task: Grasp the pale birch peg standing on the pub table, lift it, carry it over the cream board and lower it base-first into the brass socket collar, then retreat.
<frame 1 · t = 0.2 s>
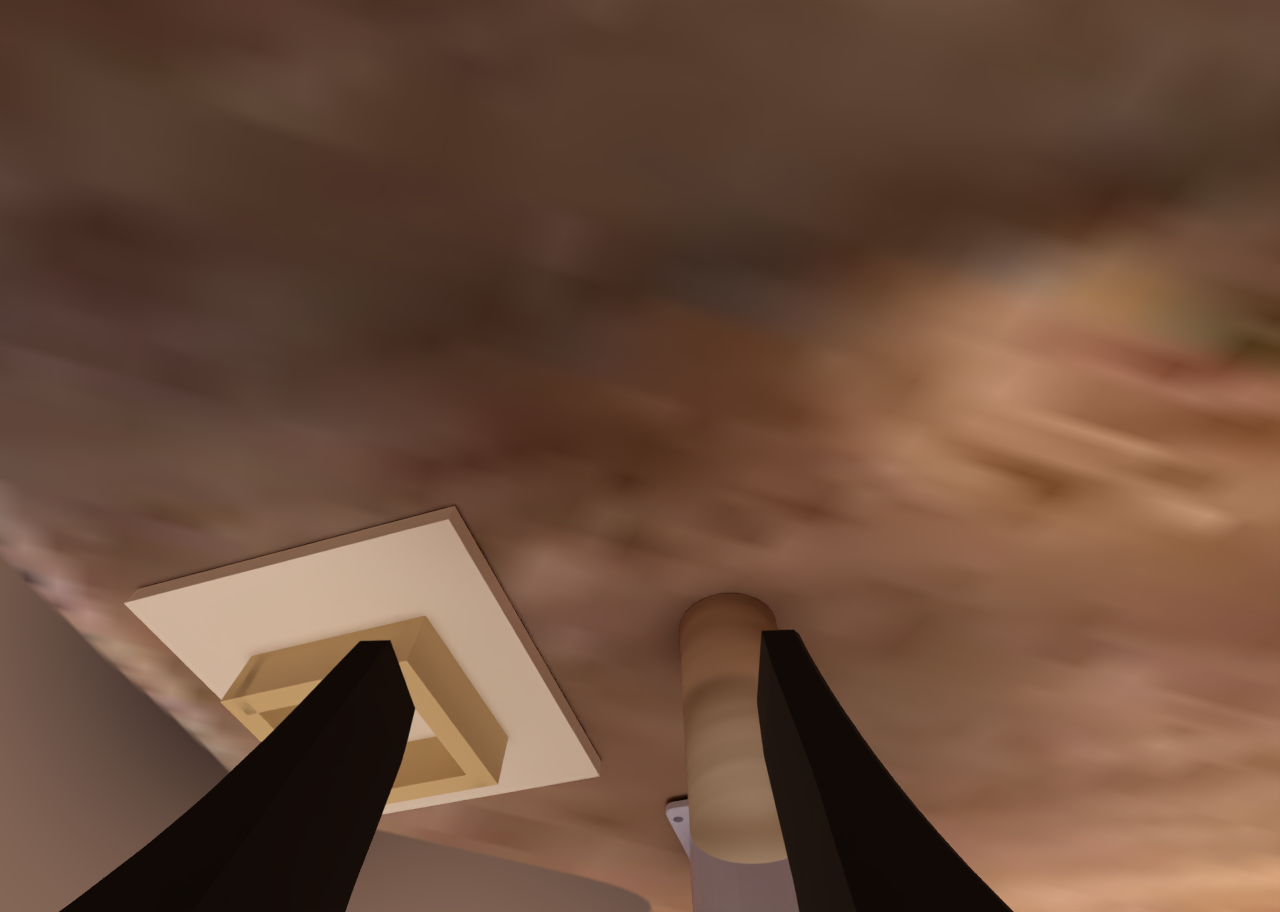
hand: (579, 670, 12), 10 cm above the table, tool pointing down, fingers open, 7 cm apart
socket plate: (392, 683, 27), on the table
birch peg: (727, 629, 26), on the table
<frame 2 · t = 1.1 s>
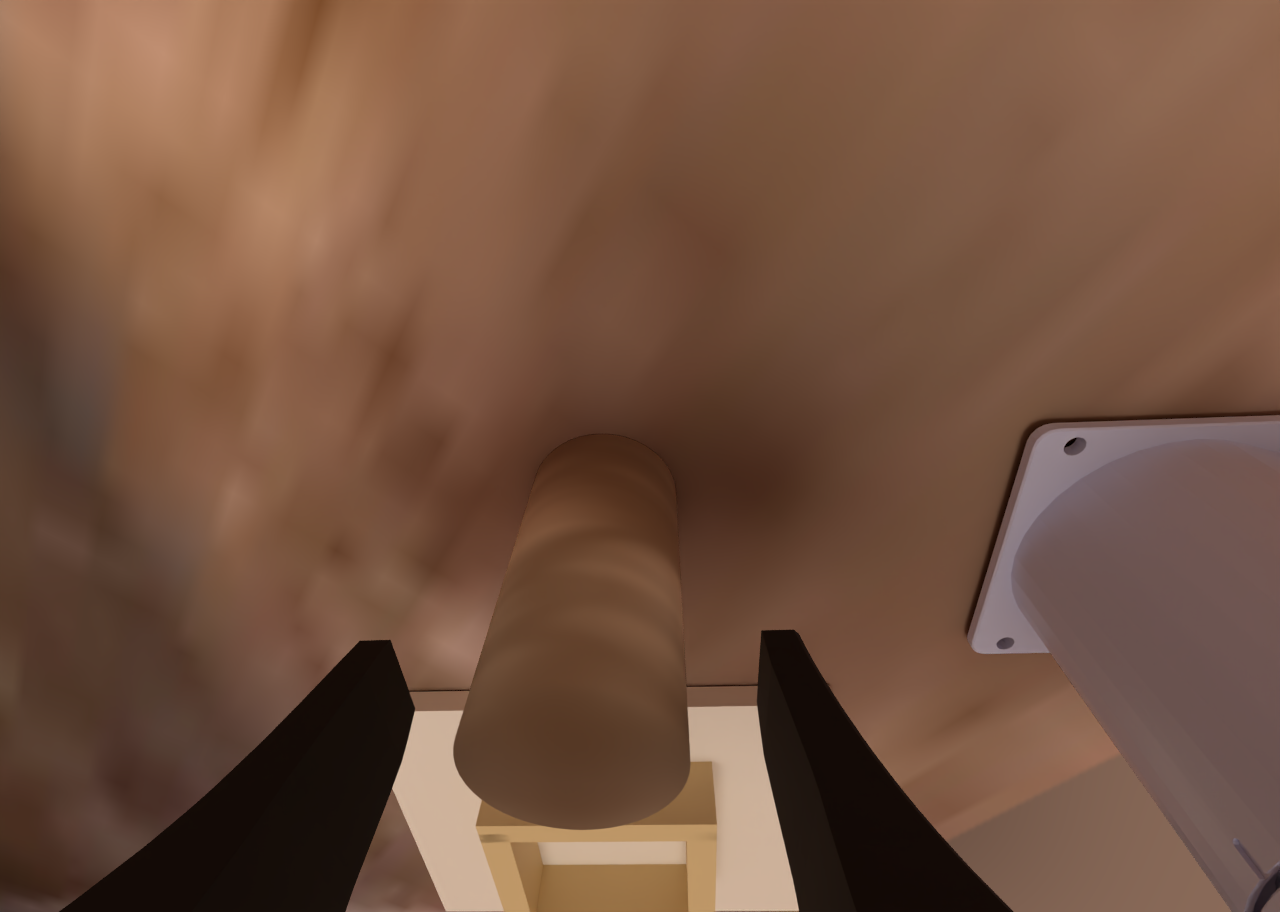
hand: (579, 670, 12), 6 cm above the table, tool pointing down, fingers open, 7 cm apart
socket plate: (610, 804, 25), on the table
birch peg: (604, 496, 17), on the table
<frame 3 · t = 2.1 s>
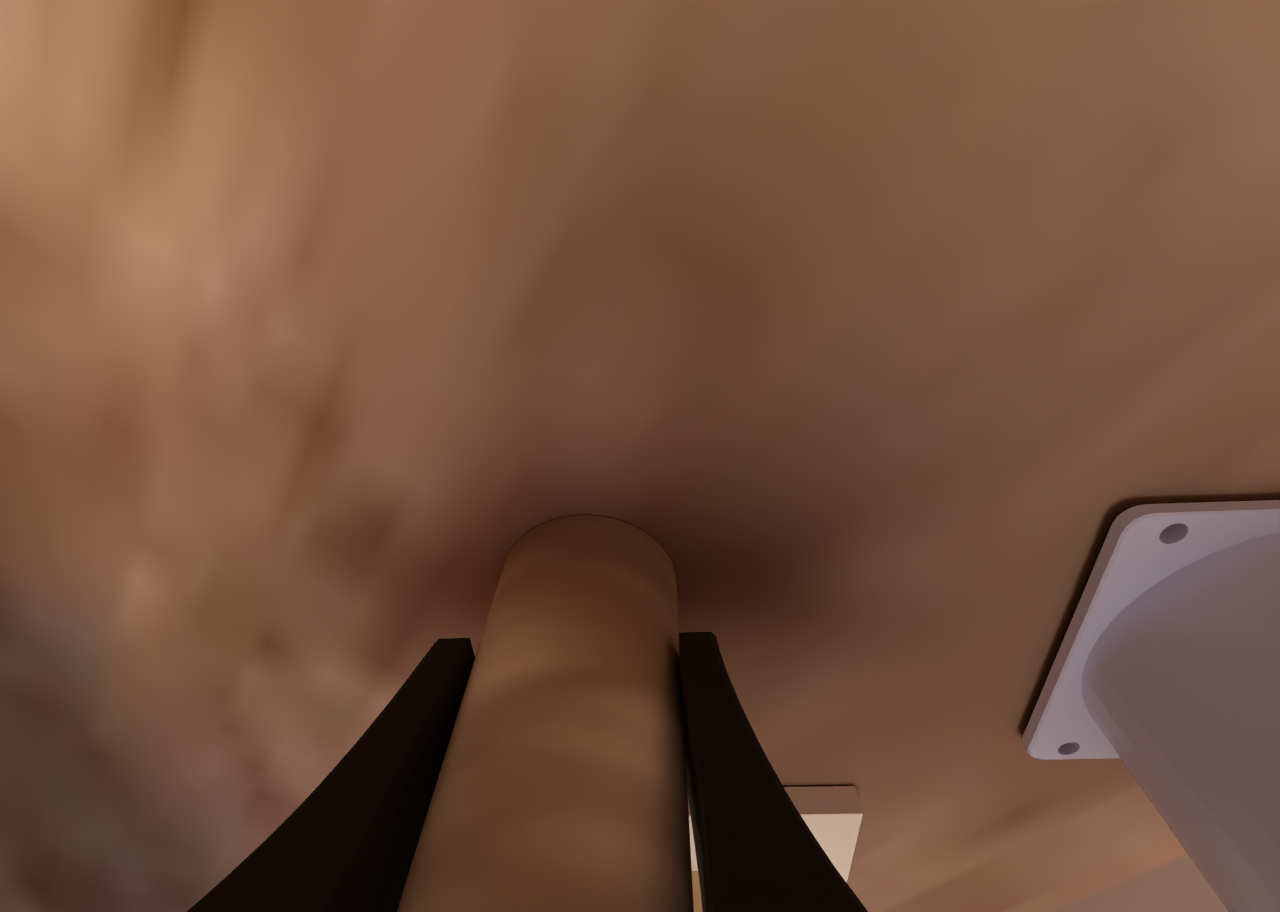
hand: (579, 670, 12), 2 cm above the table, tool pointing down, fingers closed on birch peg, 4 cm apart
socket plate: (601, 905, 22), on the table
birch peg: (589, 585, 14), on the table, touching gripper
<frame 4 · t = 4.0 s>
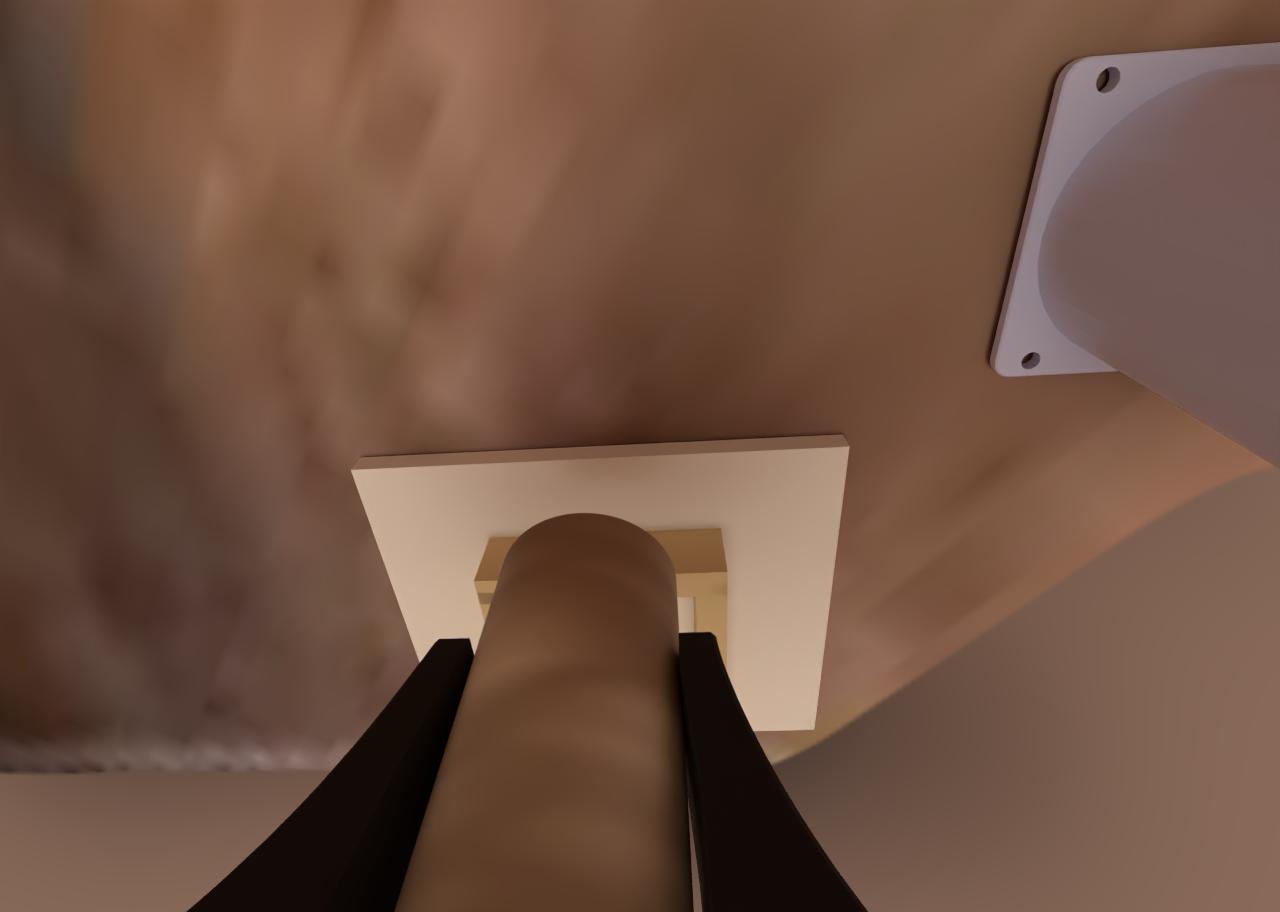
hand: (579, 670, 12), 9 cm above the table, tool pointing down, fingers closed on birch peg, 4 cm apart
socket plate: (615, 602, 24), on the table
birch peg: (589, 583, 14), point 7 cm above the table, touching gripper
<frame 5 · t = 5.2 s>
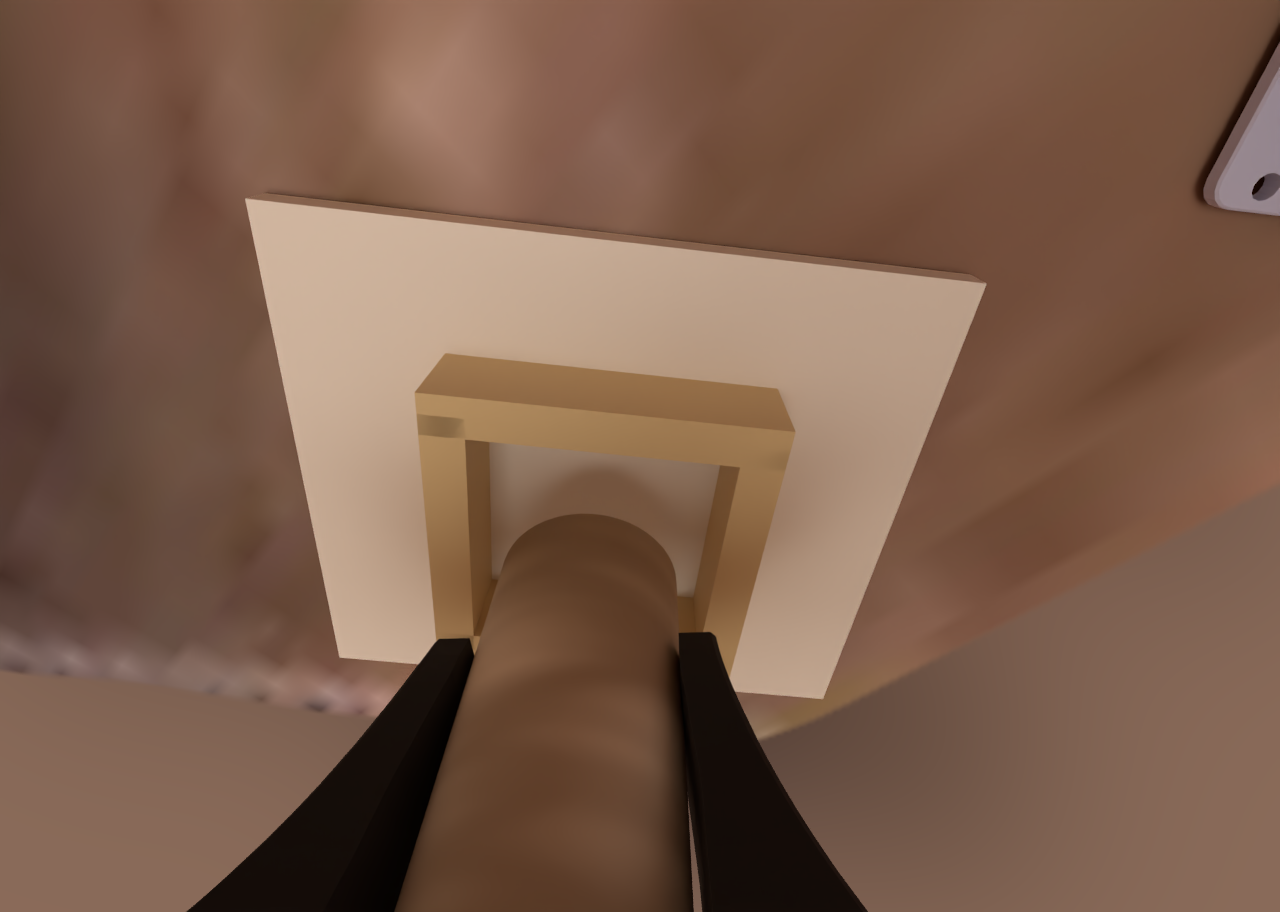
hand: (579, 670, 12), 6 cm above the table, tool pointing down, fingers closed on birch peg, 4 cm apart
socket plate: (602, 490, 18), on the table
birch peg: (589, 584, 14), point 4 cm above the table, touching gripper
when the fingers open (4 cm above the table, at t = 6.0 s): birch peg stays where it is, resting on socket plate.
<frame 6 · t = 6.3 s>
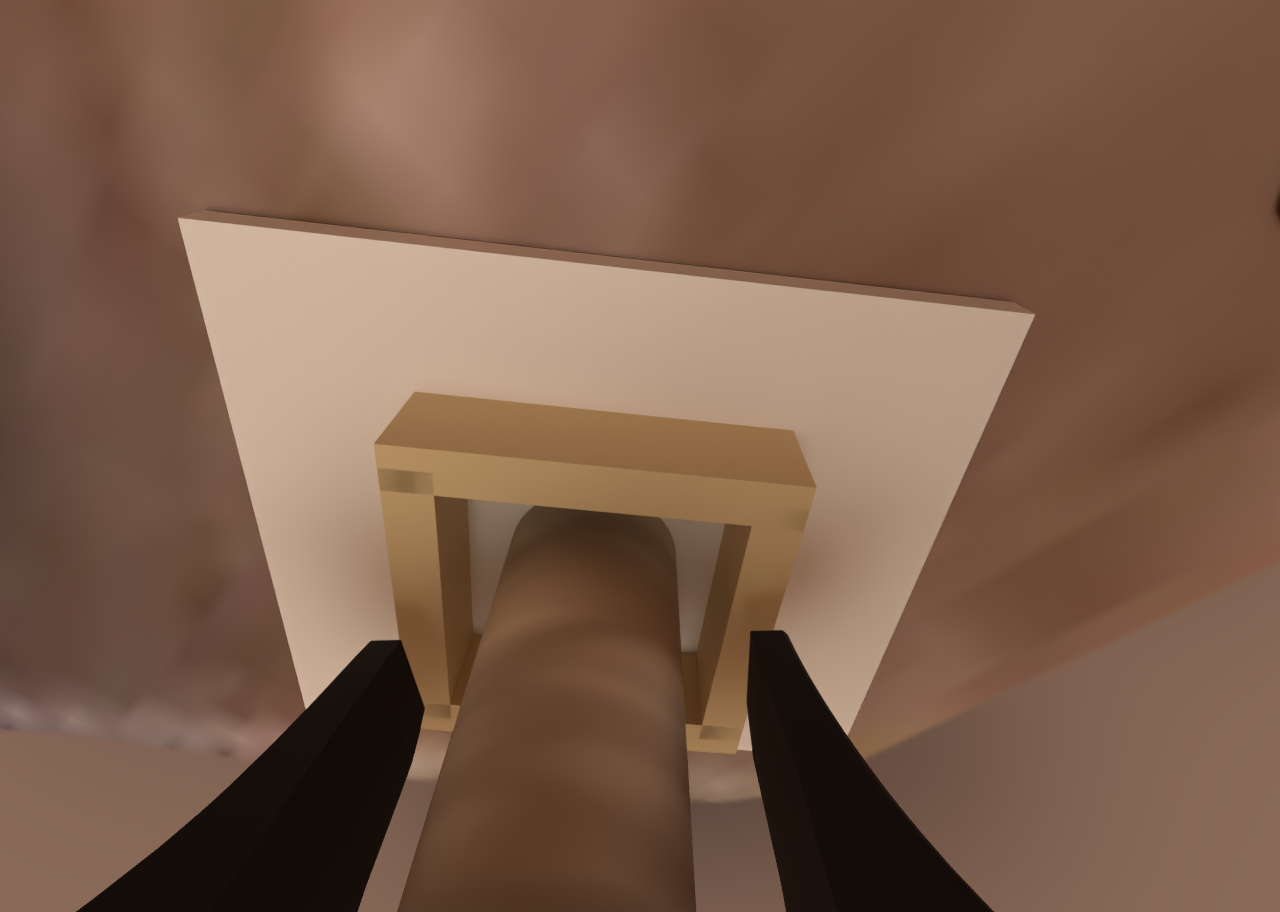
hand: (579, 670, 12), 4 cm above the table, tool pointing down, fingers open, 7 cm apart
socket plate: (595, 537, 16), on the table
birch peg: (593, 556, 15), point 1 cm above the table, touching socket plate
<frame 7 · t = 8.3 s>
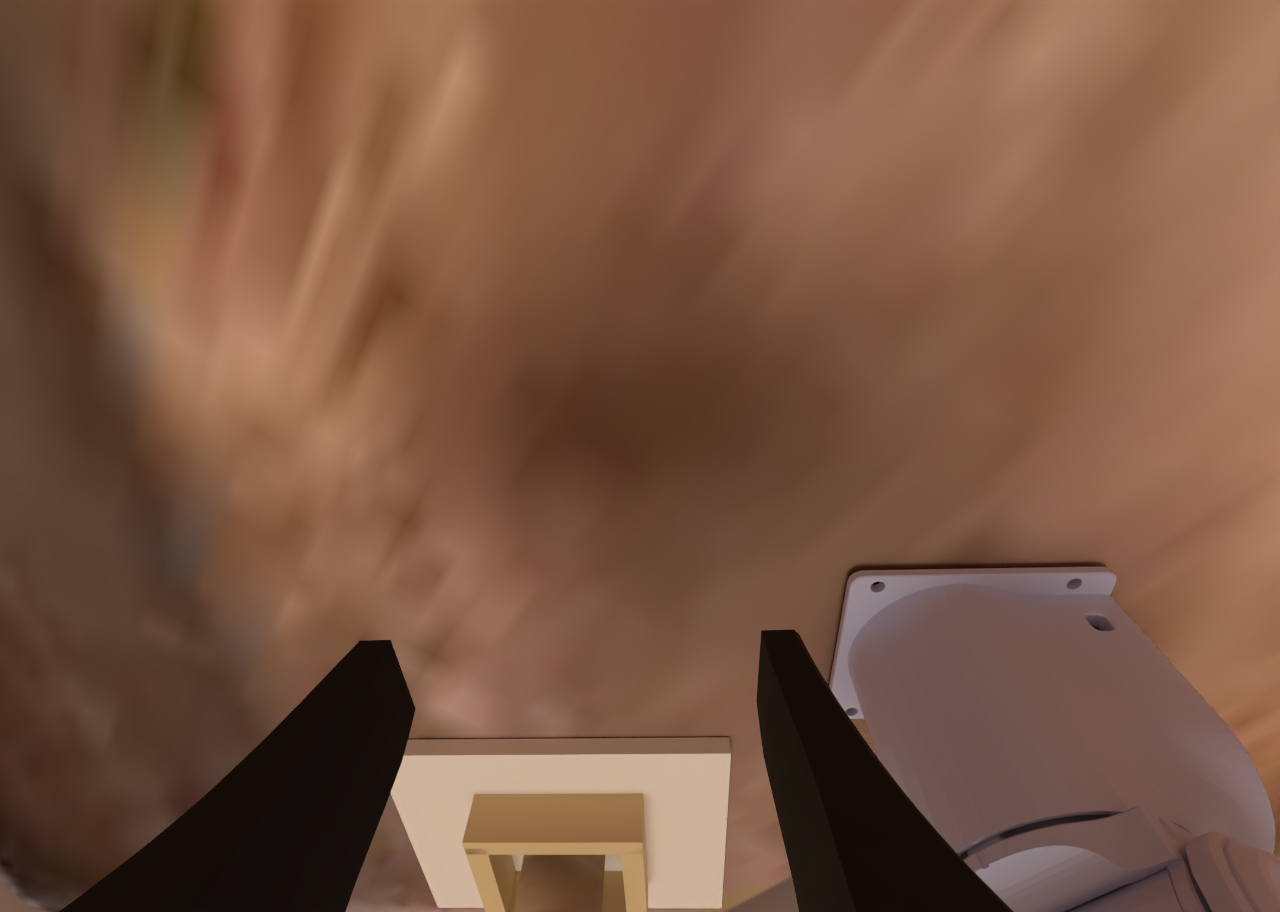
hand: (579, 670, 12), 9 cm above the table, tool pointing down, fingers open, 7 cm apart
socket plate: (568, 823, 32), on the table
birch peg: (566, 839, 31), point 1 cm above the table, touching socket plate
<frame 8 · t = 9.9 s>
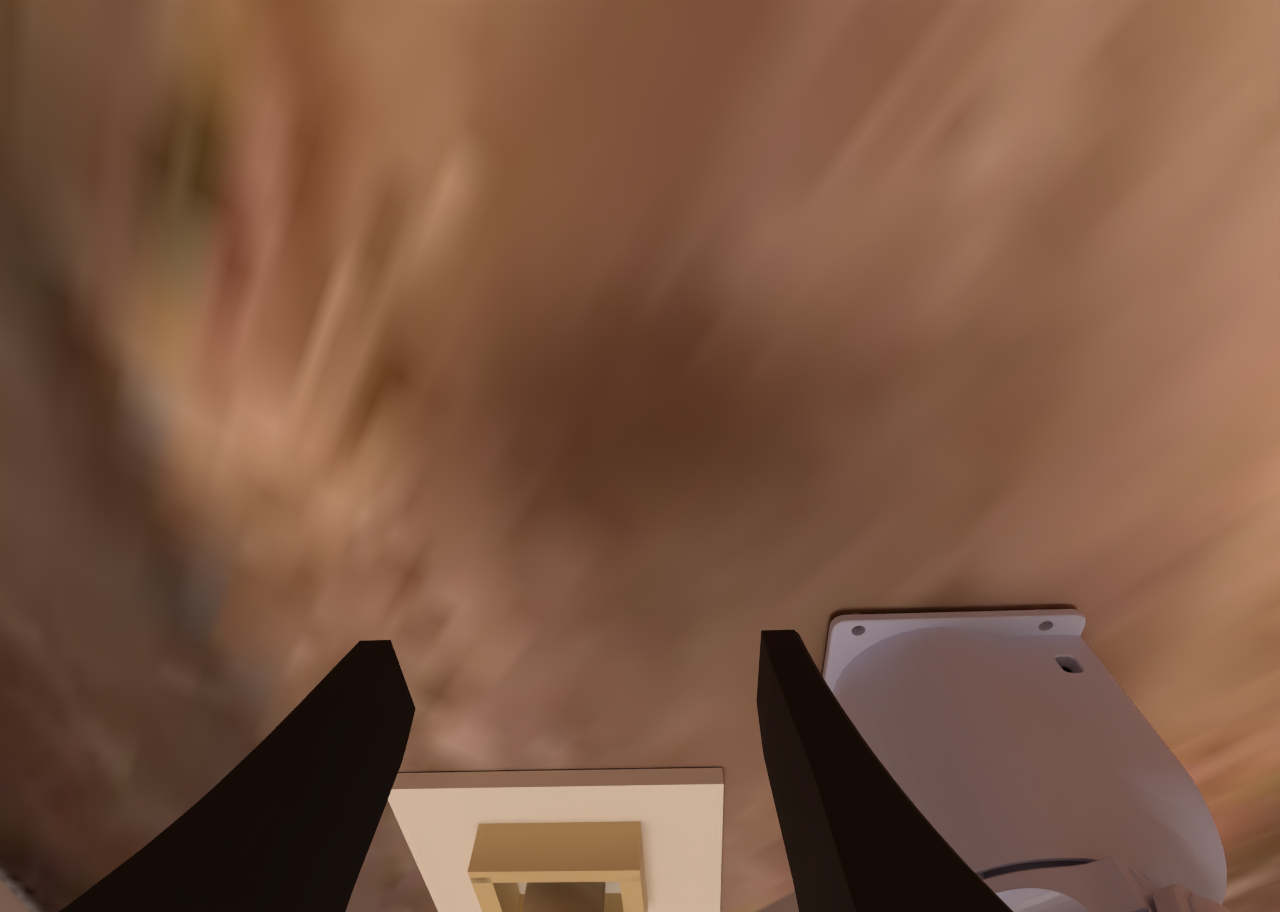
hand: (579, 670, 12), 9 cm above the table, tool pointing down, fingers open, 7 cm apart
socket plate: (569, 848, 33), on the table
birch peg: (568, 864, 32), point 1 cm above the table, touching socket plate
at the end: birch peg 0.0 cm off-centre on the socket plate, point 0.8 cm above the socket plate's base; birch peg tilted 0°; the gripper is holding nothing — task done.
